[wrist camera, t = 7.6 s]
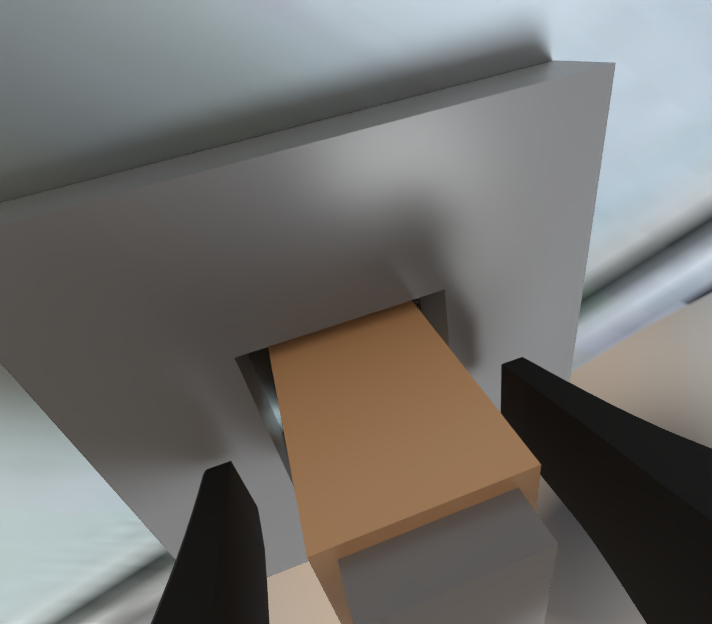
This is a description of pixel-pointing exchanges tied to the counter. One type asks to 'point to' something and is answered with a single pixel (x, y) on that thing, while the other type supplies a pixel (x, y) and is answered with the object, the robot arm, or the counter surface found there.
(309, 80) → the counter surface
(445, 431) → the plug
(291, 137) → the socket plate
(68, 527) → the counter surface
